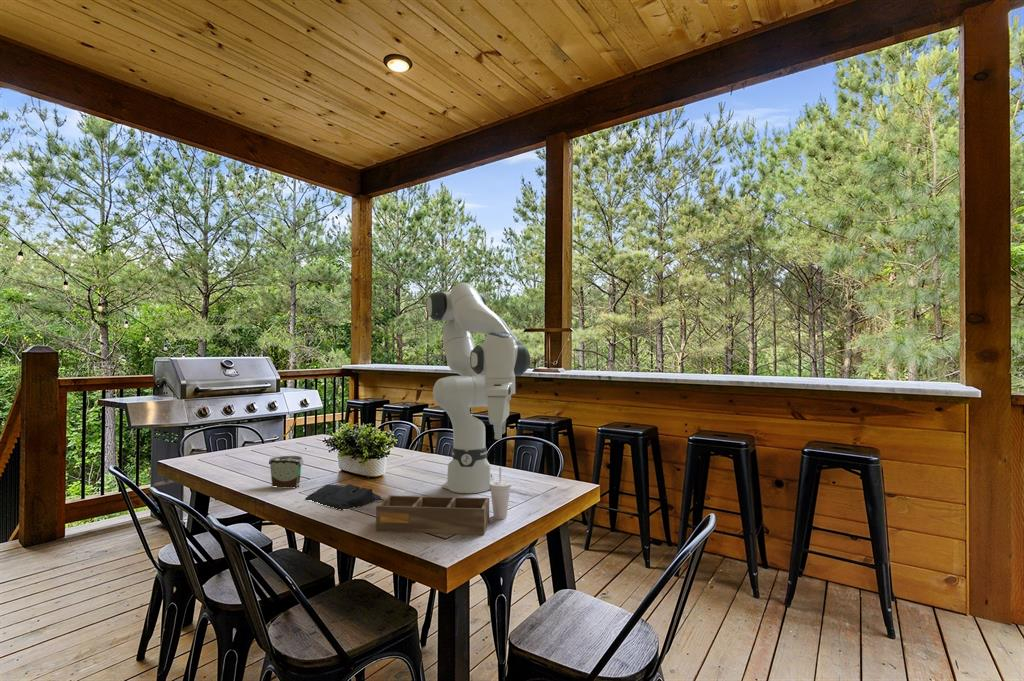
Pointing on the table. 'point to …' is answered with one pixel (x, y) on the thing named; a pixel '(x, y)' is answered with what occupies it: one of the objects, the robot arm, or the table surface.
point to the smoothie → (500, 497)
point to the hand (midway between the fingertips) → (500, 436)
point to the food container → (286, 471)
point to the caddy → (433, 515)
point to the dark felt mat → (343, 496)
